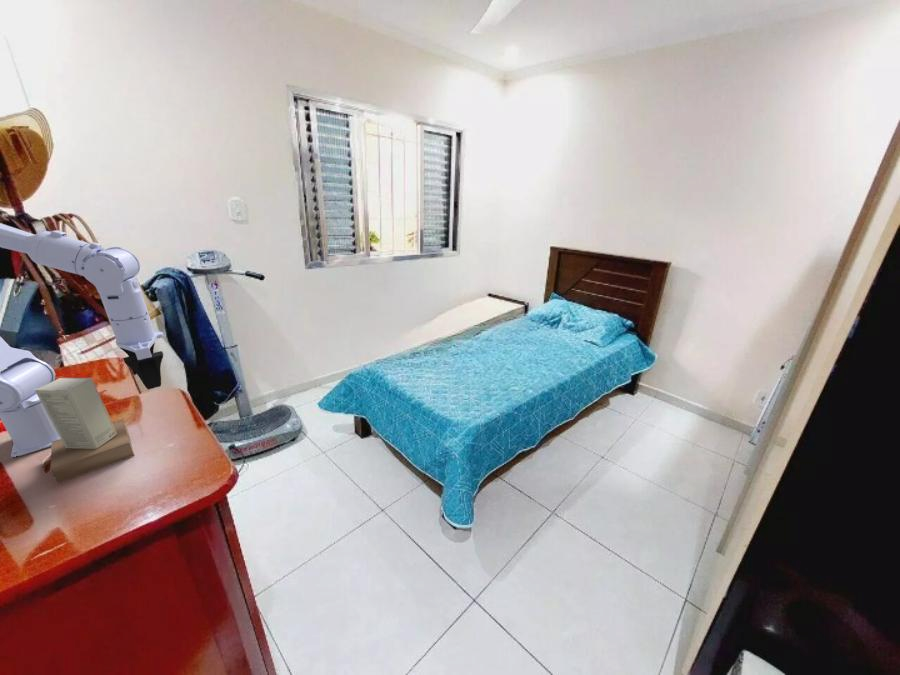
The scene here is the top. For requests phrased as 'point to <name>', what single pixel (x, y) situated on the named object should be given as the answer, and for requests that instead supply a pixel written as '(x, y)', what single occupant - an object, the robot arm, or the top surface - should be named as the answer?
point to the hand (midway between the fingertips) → (151, 380)
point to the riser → (89, 455)
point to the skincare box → (77, 412)
